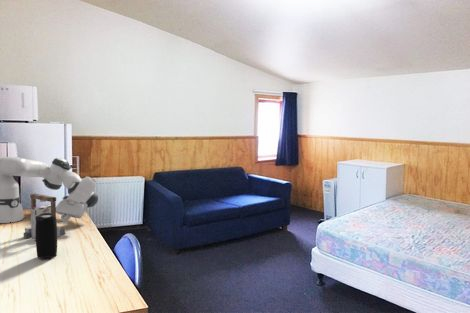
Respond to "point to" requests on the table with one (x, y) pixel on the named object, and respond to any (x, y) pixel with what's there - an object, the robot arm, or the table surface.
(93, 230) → the table surface
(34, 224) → the candy bar box
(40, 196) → the aperture gantry
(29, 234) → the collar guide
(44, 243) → the portable speaker
